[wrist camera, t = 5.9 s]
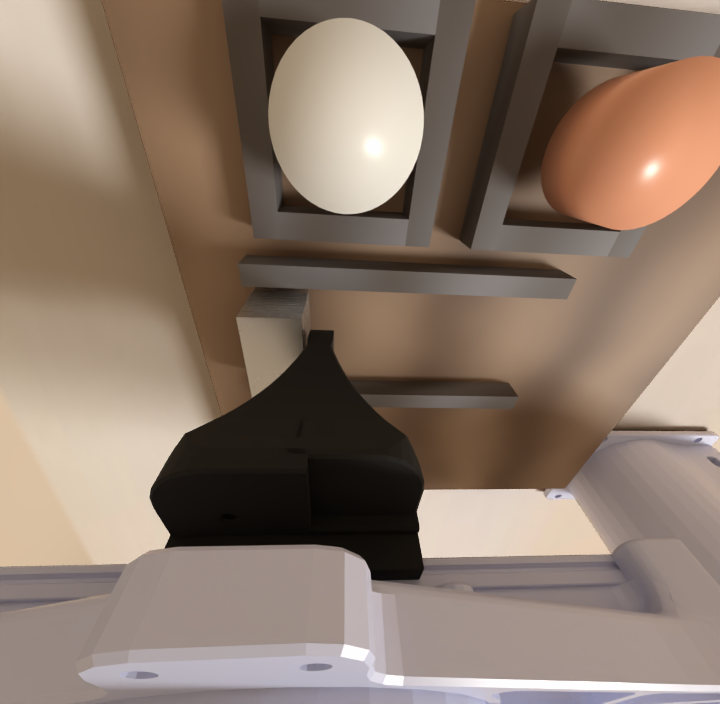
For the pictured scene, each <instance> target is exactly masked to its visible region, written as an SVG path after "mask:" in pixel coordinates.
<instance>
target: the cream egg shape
mask: <svg viewBox="0 0 720 704" xmlns="http://www.w3.org/2000/svg"><path fill="white" fill-rule="evenodd" d="M268 119H269V130H270V137H271V141H272V145H273V149H274V152H275V155H276V157H277V160H278V162H279V164H280V166H281V168H282V170H283V172H284V174H285V175H286V177H287V178H288V180H289V181H290V183H291V184H292V185H293V186H294V188H295V189H296V190H297V191H298V192H299V193H300V194H301V195H302V196H303V197H305V198H306V199H307V200H308V201H310V202H311V203H313V204H315V205H316V206H318V207H320V208H322V209H325V210H327V211H331V212H334V213H340V214H357V213H363V212H366V211H369V210H372V209H374V208H376V207H378V206H380V205H382V204H383V203H385V202H386V201H387V200H389V199H390V198H391V197H392V196H393V195H395V193H396V192H397V191H398V190H399V189H400V188H401V187H402V185H403V184H404V183H405V181H406V180H407V178H408V177H409V175H410V173H411V171H412V169H413V167H414V165H415V162H416V160H417V157H418V154H419V151H420V147H421V142H422V137H423V127H424V110H423V101H422V95H421V91H420V86H419V83H418V80H417V77H416V74H415V72H414V70H413V68H412V66H411V63H410V61H409V60H408V58H407V57H406V55H405V54H404V52H403V50H402V49H401V48H400V47H399V46H398V44H397V43H396V42H395V41H394V40H393V39H392V38H391V37H390V36H389V35H387V34H386V33H385V32H384V31H382V30H381V29H379V28H377V27H376V26H374V25H372V24H370V23H367V22H365V21H362V20H358V19H353V18H335V19H330V20H326V21H323V22H321V23H318V24H316V25H314V26H312V27H311V28H309V29H307V30H306V31H305V32H303V33H302V34H301V35H300V36H299V37H298V38H297V39H296V40H295V41H294V42H293V43H292V44H291V45H290V47H289V48H288V49H287V51H286V52H285V54H284V56H283V57H282V59H281V61H280V63H279V65H278V67H277V70H276V72H275V75H274V78H273V82H272V85H271V91H270V96H269V107H268Z"/></svg>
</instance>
